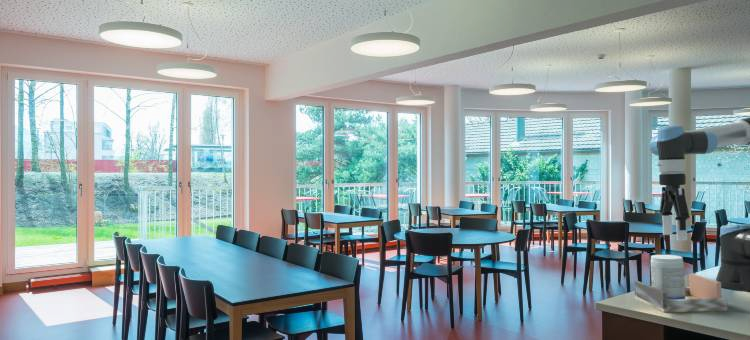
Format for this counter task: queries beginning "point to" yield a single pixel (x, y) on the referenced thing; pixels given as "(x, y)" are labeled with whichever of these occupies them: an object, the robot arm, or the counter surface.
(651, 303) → the grey tray
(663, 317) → the counter surface
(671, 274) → the supplement tub
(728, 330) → the counter surface
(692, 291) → the plate
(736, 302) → the counter surface
